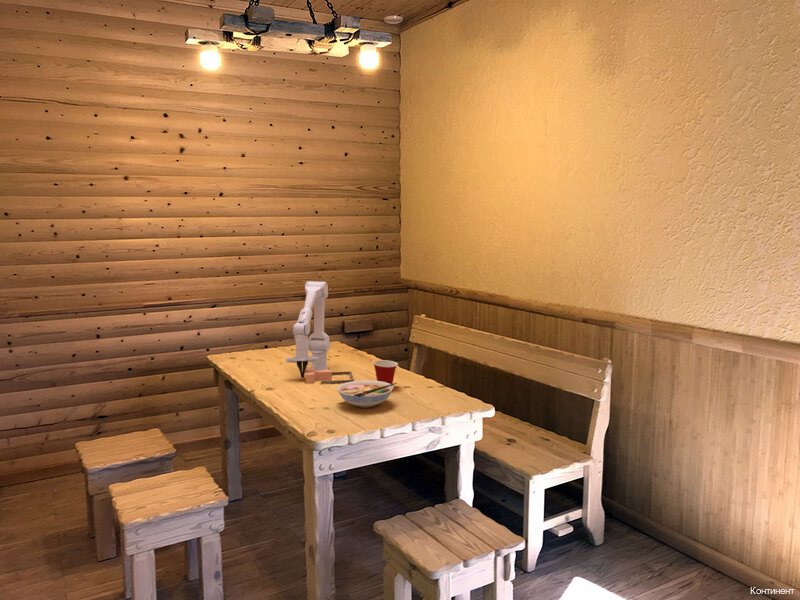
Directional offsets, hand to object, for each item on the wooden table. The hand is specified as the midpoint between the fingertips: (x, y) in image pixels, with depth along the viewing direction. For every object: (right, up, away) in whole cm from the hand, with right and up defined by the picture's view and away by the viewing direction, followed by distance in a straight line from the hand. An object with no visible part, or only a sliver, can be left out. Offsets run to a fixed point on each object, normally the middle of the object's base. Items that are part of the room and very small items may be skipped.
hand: (302, 377), depth 304 cm
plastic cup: (+39, -4, -15) cm, 42 cm away
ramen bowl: (+31, -7, -39) cm, 51 cm away
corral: (+15, -1, +2) cm, 15 cm away
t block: (+7, -1, +1) cm, 7 cm away
